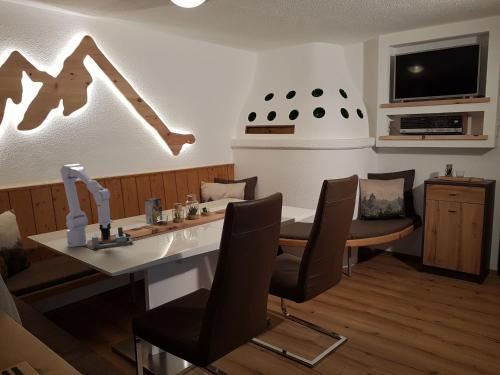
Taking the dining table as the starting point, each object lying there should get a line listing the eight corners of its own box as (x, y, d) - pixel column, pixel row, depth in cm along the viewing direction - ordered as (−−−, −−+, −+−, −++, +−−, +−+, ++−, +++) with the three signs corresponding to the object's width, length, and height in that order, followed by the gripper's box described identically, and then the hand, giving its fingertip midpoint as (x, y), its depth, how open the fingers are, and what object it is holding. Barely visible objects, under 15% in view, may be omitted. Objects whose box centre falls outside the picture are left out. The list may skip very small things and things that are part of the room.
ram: (116, 245, 208) (115, 229, 206) (116, 241, 215) (114, 226, 214) (126, 243, 209) (125, 228, 208) (125, 240, 217) (124, 225, 216)
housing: (101, 242, 198) (100, 233, 197) (101, 240, 202) (100, 231, 201) (111, 241, 199) (110, 232, 199) (110, 239, 204) (110, 230, 203)
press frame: (92, 249, 202) (91, 238, 201) (93, 244, 212) (92, 233, 211) (132, 244, 209) (131, 233, 208) (131, 239, 219) (130, 229, 218)
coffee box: (156, 220, 266) (154, 197, 264) (162, 221, 262) (161, 198, 260) (146, 223, 258) (144, 199, 256) (152, 224, 255) (151, 200, 252)
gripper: (112, 214, 193) (114, 241, 195) (111, 209, 207) (113, 234, 209) (97, 216, 191) (99, 242, 193) (97, 211, 204) (99, 235, 206)
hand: (106, 238), depth 200 cm, fingers closed on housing, 4 cm apart
